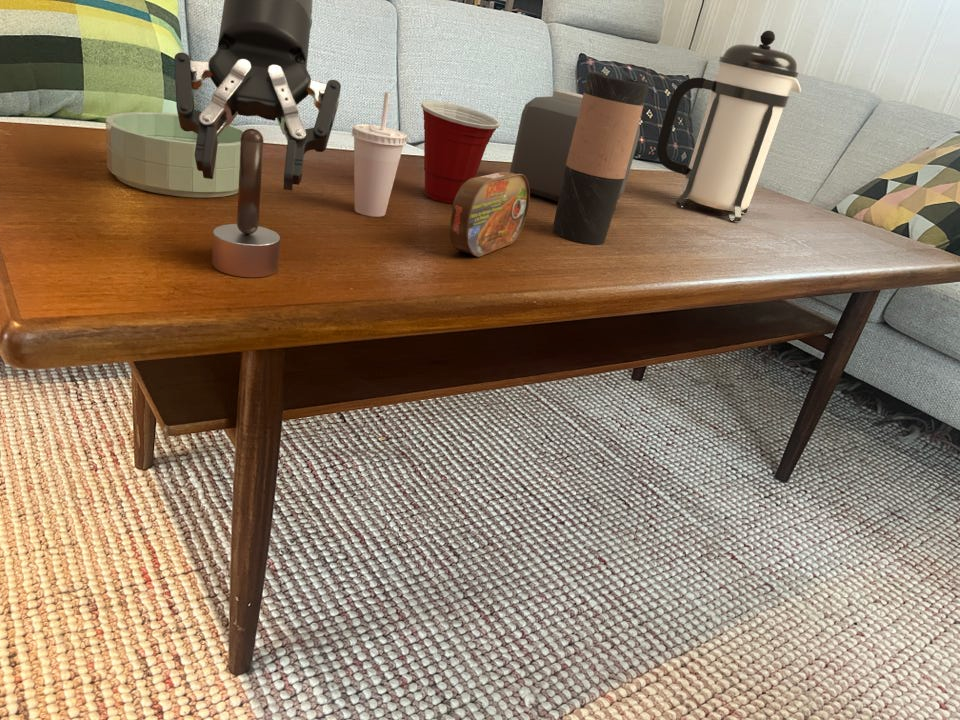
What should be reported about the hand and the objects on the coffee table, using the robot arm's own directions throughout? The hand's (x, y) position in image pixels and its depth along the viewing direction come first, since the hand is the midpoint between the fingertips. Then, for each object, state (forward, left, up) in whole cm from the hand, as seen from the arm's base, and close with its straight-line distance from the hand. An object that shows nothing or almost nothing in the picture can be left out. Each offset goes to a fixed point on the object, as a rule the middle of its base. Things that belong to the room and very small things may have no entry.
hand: (248, 178), depth 60 cm
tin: (+22, +21, -8) cm, 31 cm away
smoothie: (+8, +27, -8) cm, 29 cm away
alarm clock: (+35, +55, -8) cm, 65 cm away
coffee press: (+63, +69, -8) cm, 93 cm away
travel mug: (+35, +34, -8) cm, 49 cm away
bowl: (-14, +26, -8) cm, 31 cm away
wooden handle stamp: (0, +2, -8) cm, 8 cm away
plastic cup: (+17, +41, -8) cm, 45 cm away
